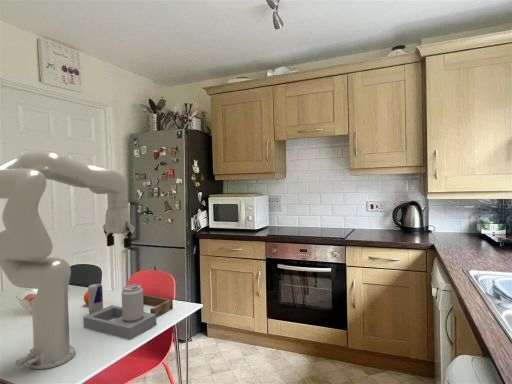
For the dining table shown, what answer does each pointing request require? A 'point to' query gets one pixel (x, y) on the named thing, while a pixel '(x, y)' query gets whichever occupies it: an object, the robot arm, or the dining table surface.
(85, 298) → the clementine
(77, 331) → the dining table surface
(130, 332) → the hole board
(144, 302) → the cubby
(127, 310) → the can
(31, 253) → the robot arm
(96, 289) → the energy drink
